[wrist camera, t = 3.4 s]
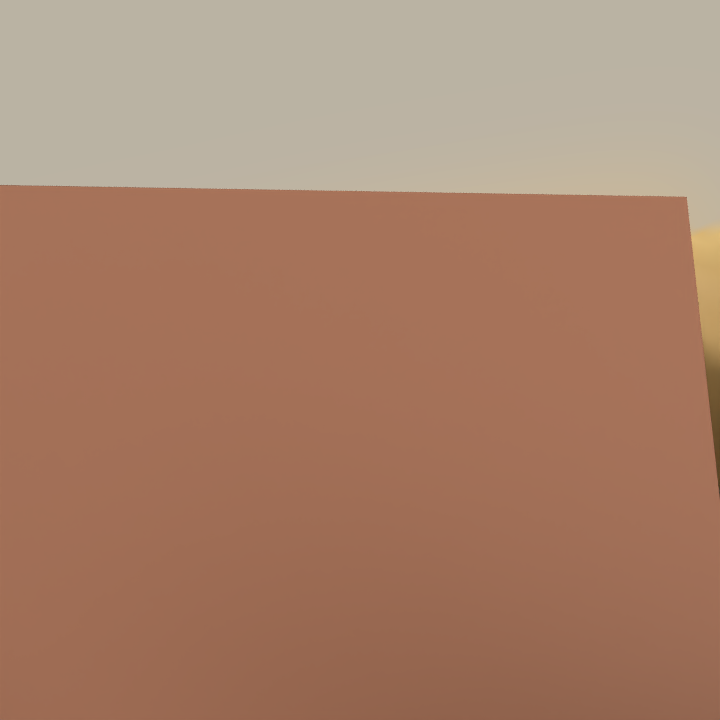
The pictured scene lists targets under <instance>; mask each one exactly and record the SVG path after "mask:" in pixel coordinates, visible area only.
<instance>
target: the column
mask: <svg viewBox="0 0 720 720" xmlns="http://www.w3.org/2000/svg"><path fill="white" fill-rule="evenodd" d="M0 720H720V496H719V487H718V478H717V469H716V460H715V451H714V442H713V433H712V424H711V415H710V406H709V396H708V387H707V378H706V369H705V360H704V351H703V342H702V333H701V324H700V315H699V306H698V297H697V287H696V278H695V269H694V260H693V251H692V242H691V233H690V224H689V215H688V206H687V197H663V196H662V197H661V196H604V195H544V194H488V193H487V194H486V193H485V194H484V193H430V192H429V193H428V192H370V191H366V192H365V191H309V190H253V189H251V190H250V189H193V188H136V187H135V188H134V187H132V188H131V187H78V186H76V187H75V186H73V187H72V186H19V185H0Z"/></svg>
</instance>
